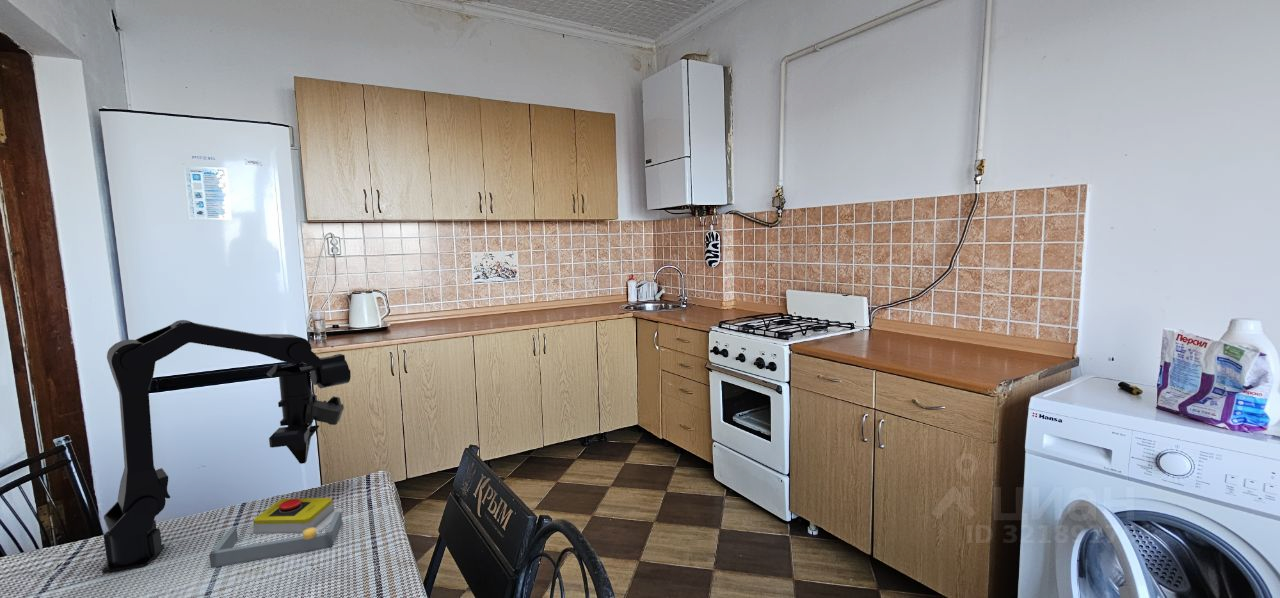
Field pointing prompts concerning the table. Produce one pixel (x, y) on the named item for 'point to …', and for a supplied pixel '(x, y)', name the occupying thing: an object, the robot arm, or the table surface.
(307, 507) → the emergency button
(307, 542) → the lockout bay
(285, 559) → the table surface
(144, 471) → the robot arm
